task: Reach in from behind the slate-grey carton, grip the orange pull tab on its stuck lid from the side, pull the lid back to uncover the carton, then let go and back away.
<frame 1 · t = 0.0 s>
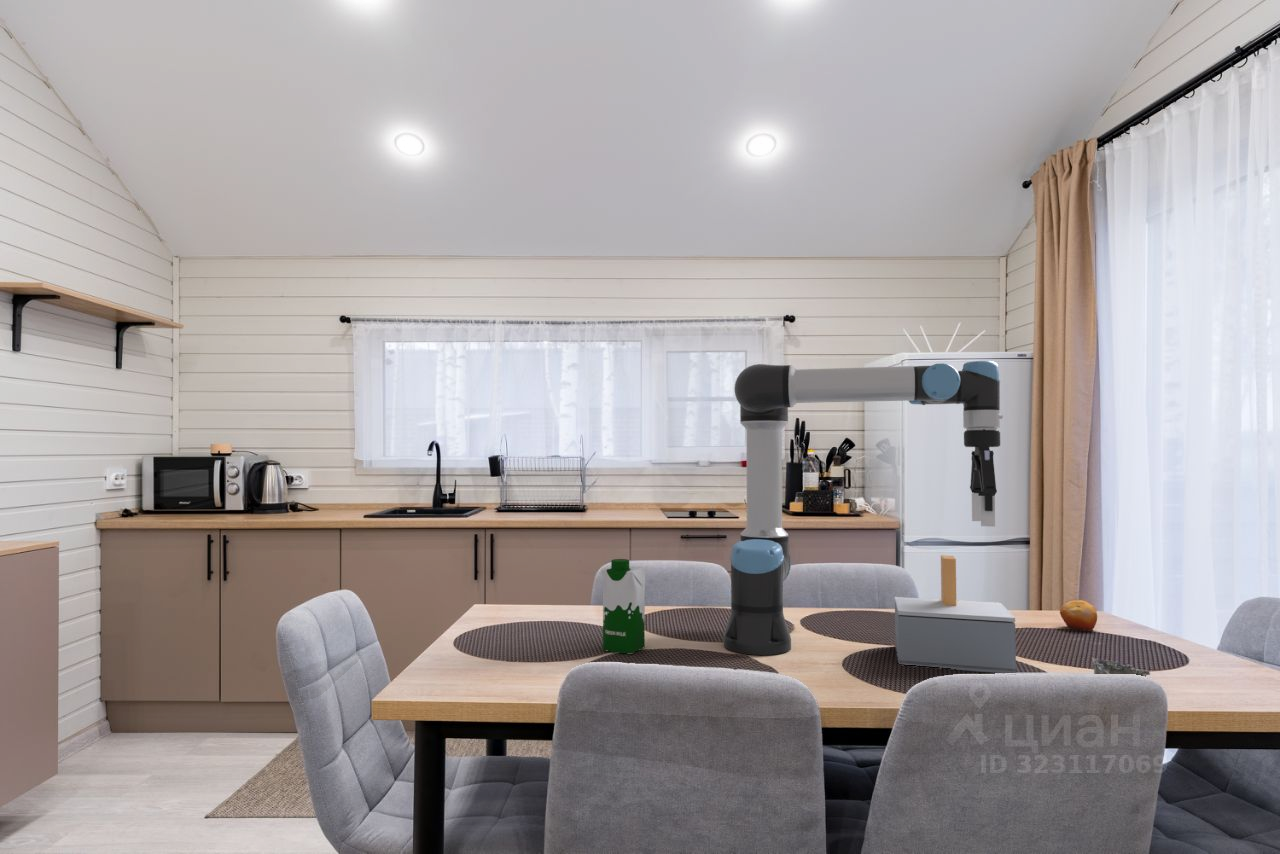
hand: (983, 523, 167), 28 cm above the table, tool pointing down, fingers open, 13 cm apart
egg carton: (1119, 685, 142), on the table
fruit: (1078, 629, 186), on the table
milk carton: (624, 650, 165), on the table
carton lid: (950, 584, 158), point 16 cm above the table, slide at 0.0 cm
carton: (951, 659, 158), on the table
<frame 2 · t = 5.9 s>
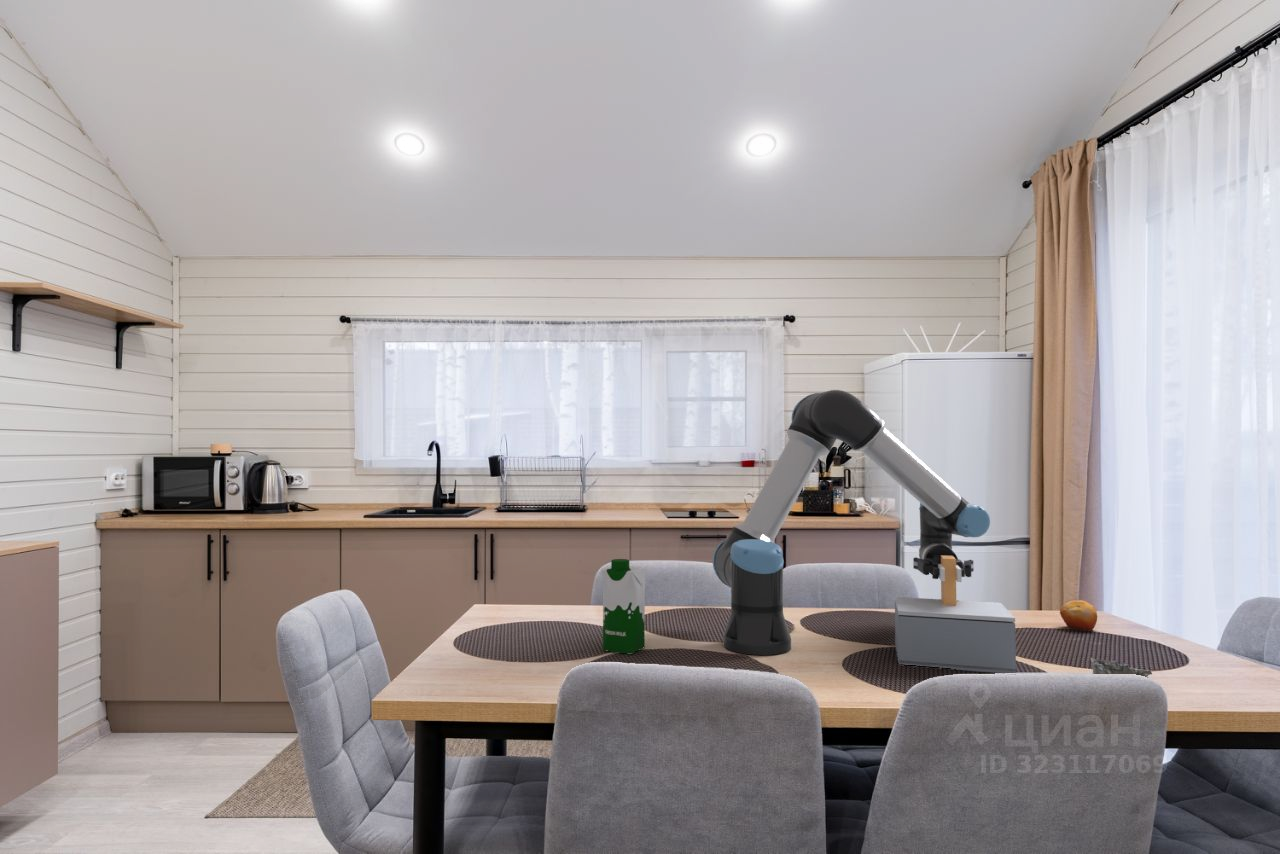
hand: (951, 575, 157), 18 cm above the table, tool horizontal, fingers closed on carton lid, 2 cm apart
carton lid: (950, 584, 158), point 16 cm above the table, slide at 0.0 cm, touching gripper
everything else where it was.
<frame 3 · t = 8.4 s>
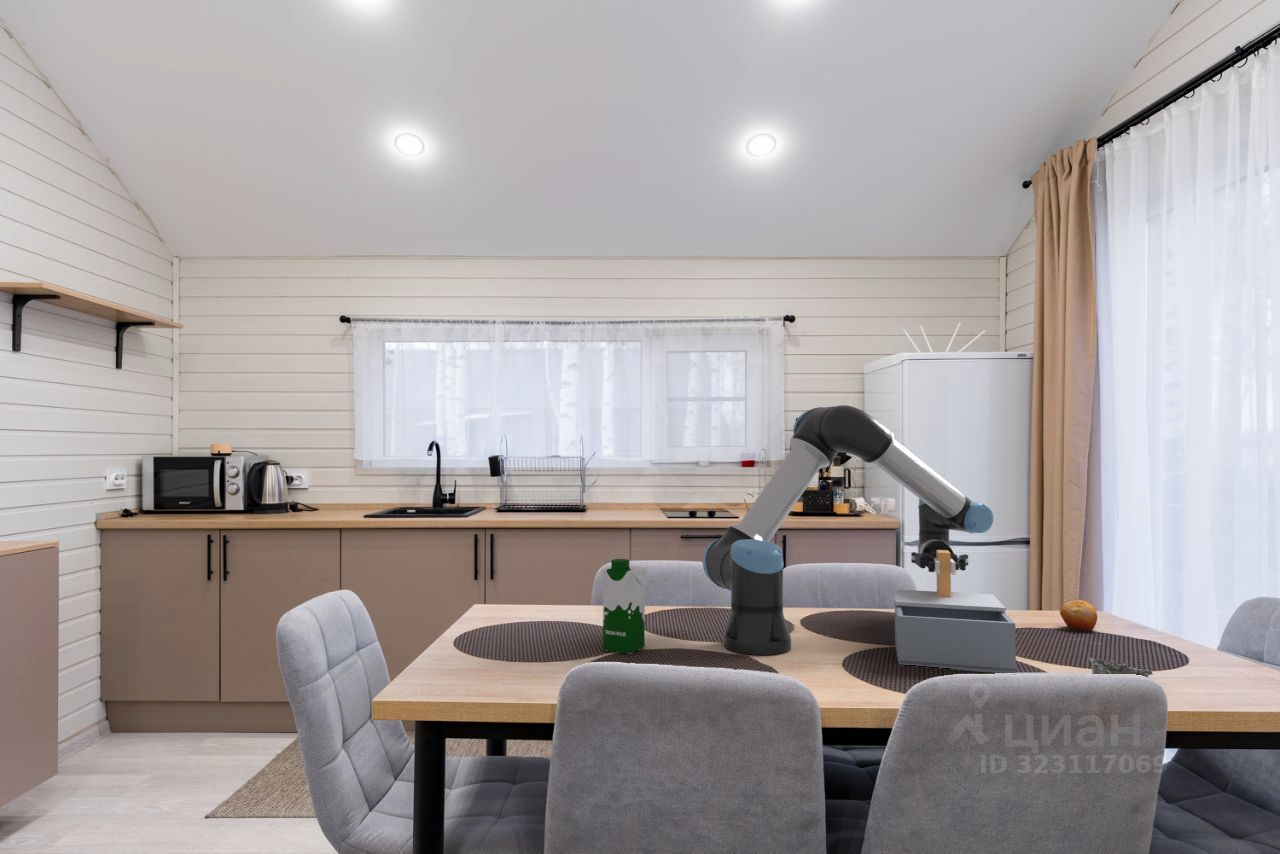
hand: (945, 568, 167), 18 cm above the table, tool horizontal, fingers closed on carton lid, 3 cm apart
carton lid: (945, 577, 168), point 16 cm above the table, slide at 10.1 cm, touching gripper
everything else where it was.
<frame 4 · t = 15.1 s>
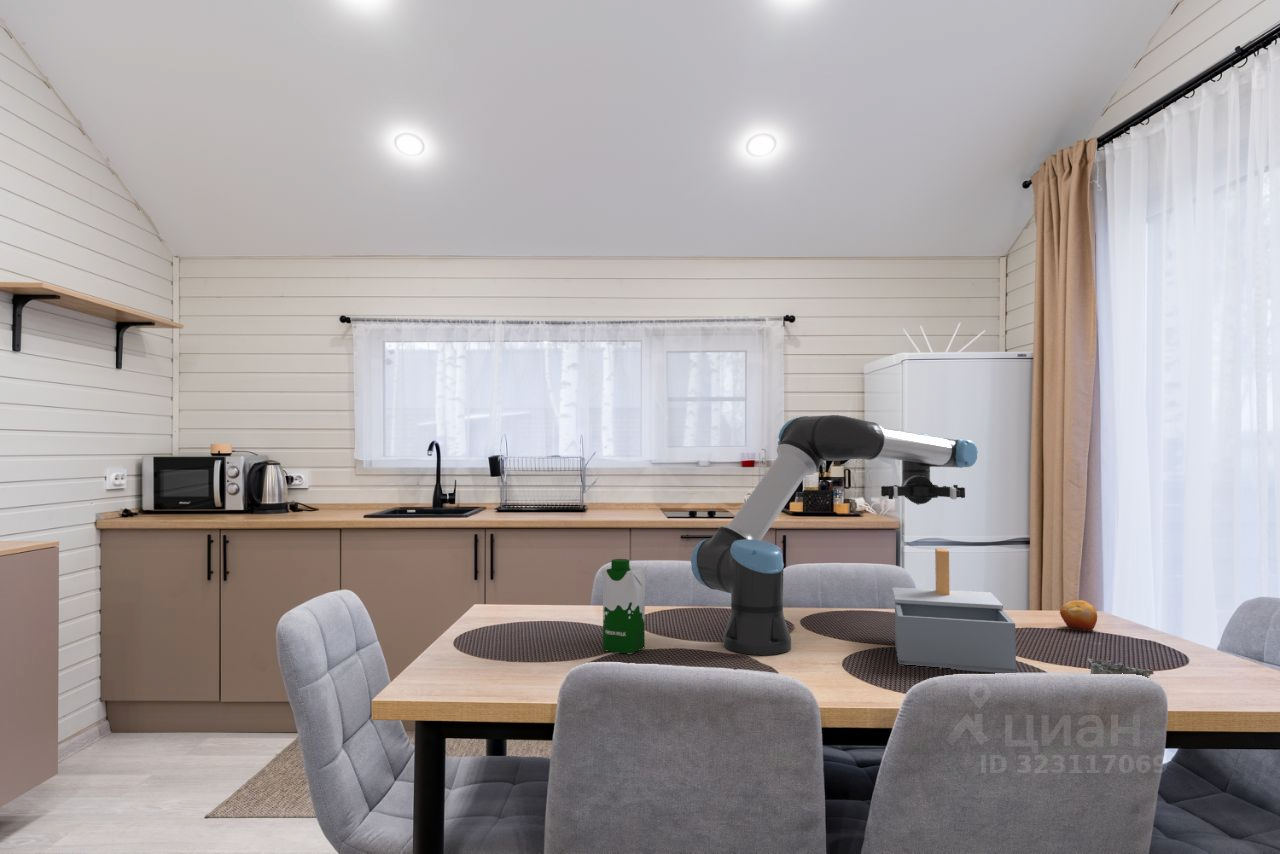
hand: (925, 493, 184), 34 cm above the table, tool horizontal, fingers open, 13 cm apart
carton lid: (944, 575, 171), point 16 cm above the table, slide at 13.0 cm
everything else where it was.
at the end: carton lid slide at 13.0 cm; the gripper is holding nothing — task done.
